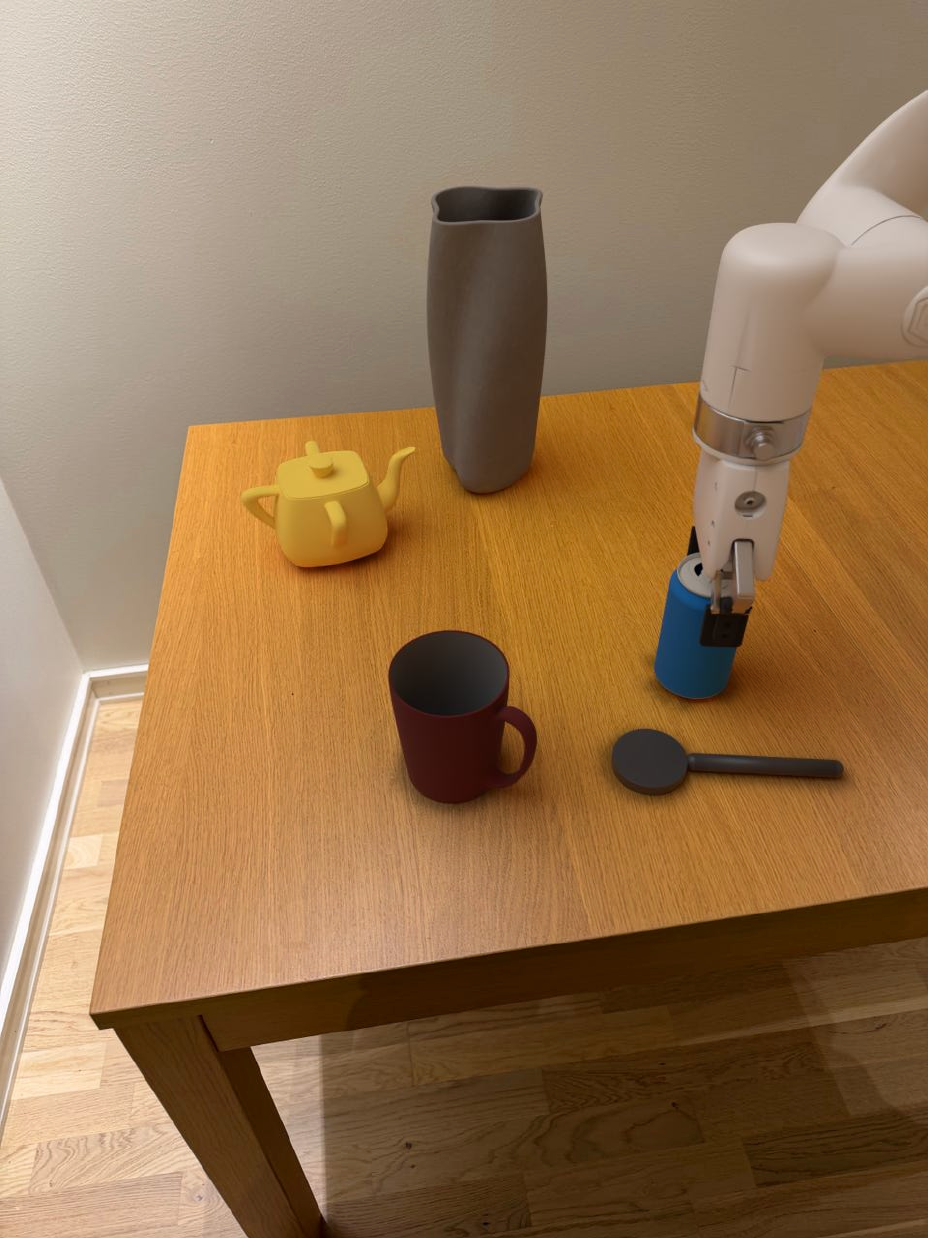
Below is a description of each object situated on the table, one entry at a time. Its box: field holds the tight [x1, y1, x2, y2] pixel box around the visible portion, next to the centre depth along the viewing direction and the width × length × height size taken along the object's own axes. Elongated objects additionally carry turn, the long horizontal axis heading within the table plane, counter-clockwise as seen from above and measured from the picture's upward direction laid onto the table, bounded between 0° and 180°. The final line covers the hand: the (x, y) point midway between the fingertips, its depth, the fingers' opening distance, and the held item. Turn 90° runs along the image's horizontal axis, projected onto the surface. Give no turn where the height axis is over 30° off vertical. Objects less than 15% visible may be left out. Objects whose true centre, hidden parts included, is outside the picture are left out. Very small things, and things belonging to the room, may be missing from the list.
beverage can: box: [653, 553, 738, 700], centre depth 75 cm, size 6×6×12 cm
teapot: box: [240, 440, 416, 568], centre depth 91 cm, size 14×13×10 cm
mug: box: [387, 629, 538, 804], centre depth 68 cm, size 12×9×11 cm
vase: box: [426, 185, 549, 494], centre depth 94 cm, size 12×12×30 cm
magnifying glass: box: [610, 728, 845, 796], centre depth 71 cm, size 18×6×1 cm, turn 86°
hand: (711, 603), depth 73 cm, fingers open, 9 cm apart
